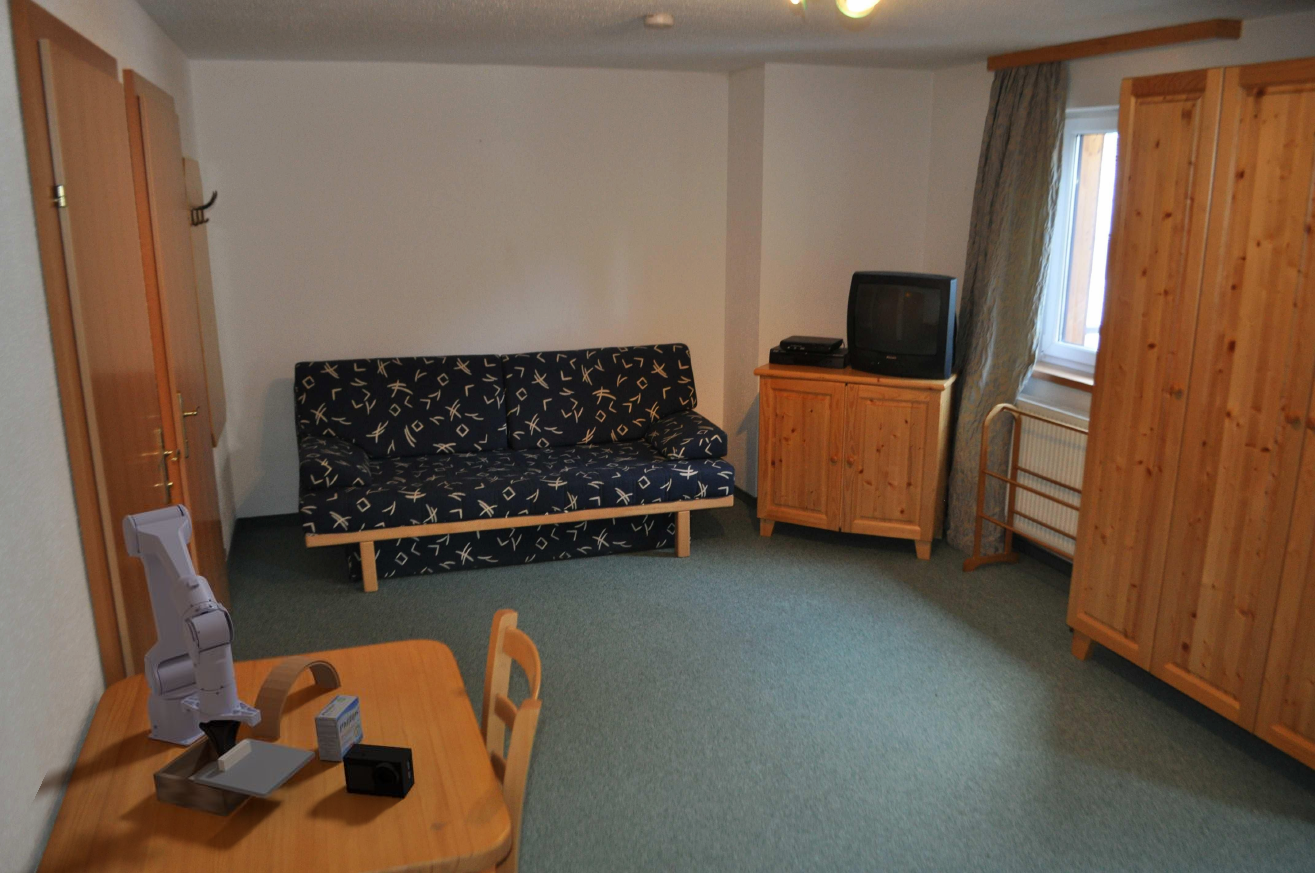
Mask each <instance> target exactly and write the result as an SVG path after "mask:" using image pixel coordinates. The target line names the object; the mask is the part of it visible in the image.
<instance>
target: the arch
mask: <svg viewBox="0 0 1315 873" xmlns="http://www.w3.org/2000/svg"><path fill="white" fill-rule="evenodd" d="M307 669H309V670H310V672H311V675H312V677H313V680H314V686H318V687H322V688H329V689H331V688H332V689H340V688H341V687H342V683H341V678H340V675H339V672H338V670H337V668H336V667H335V665H333V663H331V662H330V661H328V660H326V659H320V658H313V657H305V656H300V655H293V656H289V657H286V658H285V659H283V660H281V661H280V662H278V663H277V664H276V665H275V666H274V667H273V668H272V669H271V670H270V671H269V673H268V674H267V676H266V678H264V680H263V682H262V684H261V685H260V686H261V687H260V688H259V690H258V693H257V696H256V699H255V702H254V705H253V708H254V709H257V710H260V715H261V721H260V722H259V723H257V724H256V725H254V726H253V727H252V726H251V736H252V737H257V738H258V737H260V738H264V739H269V740H270V739H271V740H275V741H276V740H277V741H278V740H279V739H280V738H281V737H282V736H281V723H282V722H281V720H282V716H283V715H282V714H283V710H284V705H285V702H286V699H287V697H288V695H289V692H290V691H291V688H293V685H294V684H295V682H296V681H297V679H298V678H299V677H300V676H301V675H302V674H303V673H304V672H305V671H306V670H307Z"/></svg>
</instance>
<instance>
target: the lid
mask: <svg viewBox="0 0 1315 873" xmlns="http://www.w3.org/2000/svg"><path fill="white" fill-rule="evenodd" d="M239 742H240V743H239V744H237V745H236V746H235V747H233V748H232V749H231V750H229V751H228V752H227V753H225V754H224V755H223V756H221V757H220V758H219V759H218V760H217V761H215V762H214V763H213V764H212V765H210V766H209V767H208V768H206V769H205V770H204V771H202V772H201V773H200V774H198V775H197V776H196V777H194V782H195V783H200V784H204V785H208V786H213V787H217V788H222V789H226V790H230V791H235V792H239V793H243V794H248V795H252V796H253V797H256V798H262V799H267V798H268V797H270V795H271V794H273V793H274V792H275V791H276V790H277V789H279V788H280V787H281V786H282V785H283V784H284V783H285V782H287V781H288V780H289V779H290V778H291V777H292V776H294V775H295V774H296V773H297V772H298V771H300V770H301V768H303V767H304V766H306V765H307V763H309V762H310V761H311V760H312V759H313V758H315V757H316V755H315V751H312V750H306V749H302V748H296V747H292V746H286V745H283V744H278V743H272V742H268V741H262V740H259V739H258V740H257V739H254V738H248V737H246V738H244V739H243V740H242V741H239ZM252 796H251V797H252Z"/></svg>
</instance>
